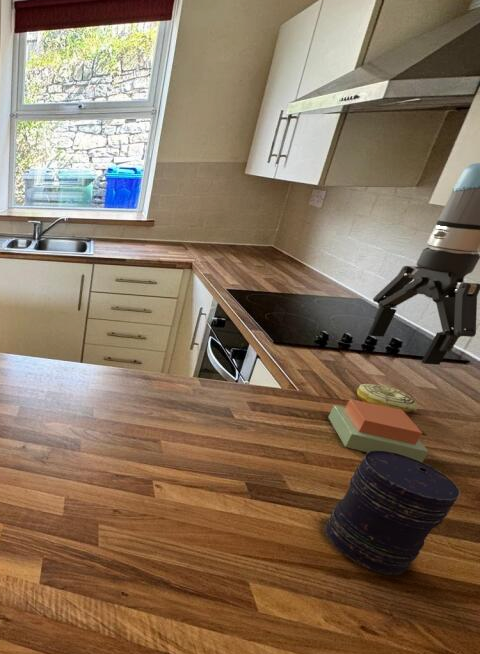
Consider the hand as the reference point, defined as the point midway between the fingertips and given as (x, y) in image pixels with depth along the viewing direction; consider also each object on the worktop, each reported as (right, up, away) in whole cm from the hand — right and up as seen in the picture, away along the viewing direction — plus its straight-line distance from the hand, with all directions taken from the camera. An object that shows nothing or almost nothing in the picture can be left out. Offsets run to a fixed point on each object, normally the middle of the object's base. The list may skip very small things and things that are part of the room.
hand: (400, 348), depth 86 cm
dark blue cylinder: (-30, -31, -23) cm, 49 cm away
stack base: (-5, -20, +2) cm, 21 cm away
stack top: (-5, -17, 0) cm, 17 cm away
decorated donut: (+11, -15, +15) cm, 24 cm away
